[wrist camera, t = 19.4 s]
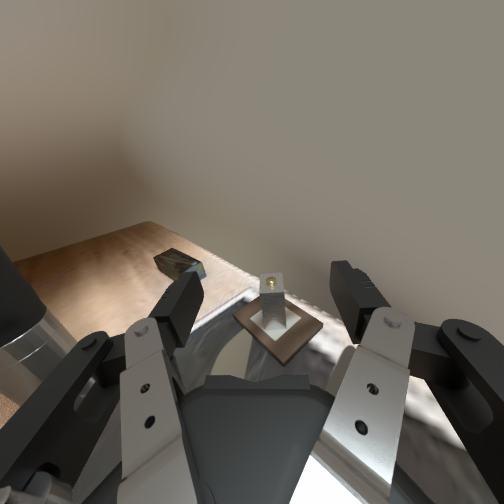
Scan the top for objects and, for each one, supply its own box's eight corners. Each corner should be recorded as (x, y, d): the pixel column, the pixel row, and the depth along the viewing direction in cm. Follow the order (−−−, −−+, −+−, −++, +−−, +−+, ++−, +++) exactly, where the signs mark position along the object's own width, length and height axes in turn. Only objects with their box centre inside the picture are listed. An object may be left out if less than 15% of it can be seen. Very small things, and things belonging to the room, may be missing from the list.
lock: (264, 330, 40) (259, 291, 35) (264, 308, 45) (260, 271, 40) (286, 329, 39) (284, 289, 34) (284, 307, 45) (281, 270, 40)
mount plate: (322, 327, 40) (323, 322, 40) (283, 367, 34) (283, 362, 34) (269, 292, 52) (269, 288, 51) (233, 317, 46) (232, 313, 45)
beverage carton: (186, 290, 58) (179, 272, 55) (158, 271, 70) (151, 255, 67) (207, 276, 63) (202, 259, 59) (177, 261, 75) (172, 246, 71)
